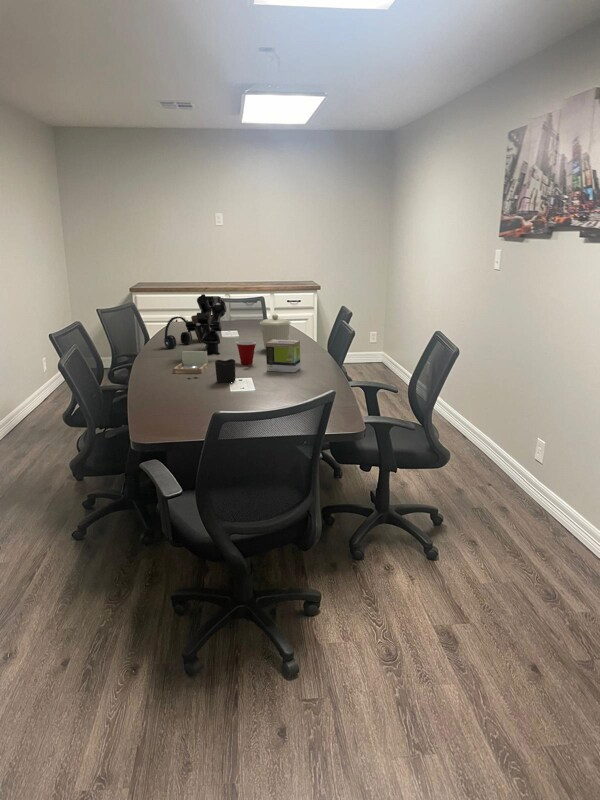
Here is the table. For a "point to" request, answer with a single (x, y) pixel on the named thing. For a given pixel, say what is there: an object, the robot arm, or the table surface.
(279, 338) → the canister
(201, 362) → the drawer
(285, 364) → the tea box
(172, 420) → the table surface
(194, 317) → the plant pot
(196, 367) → the disc
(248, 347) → the plastic cup
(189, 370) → the housing
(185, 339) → the headphones
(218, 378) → the pen holder
